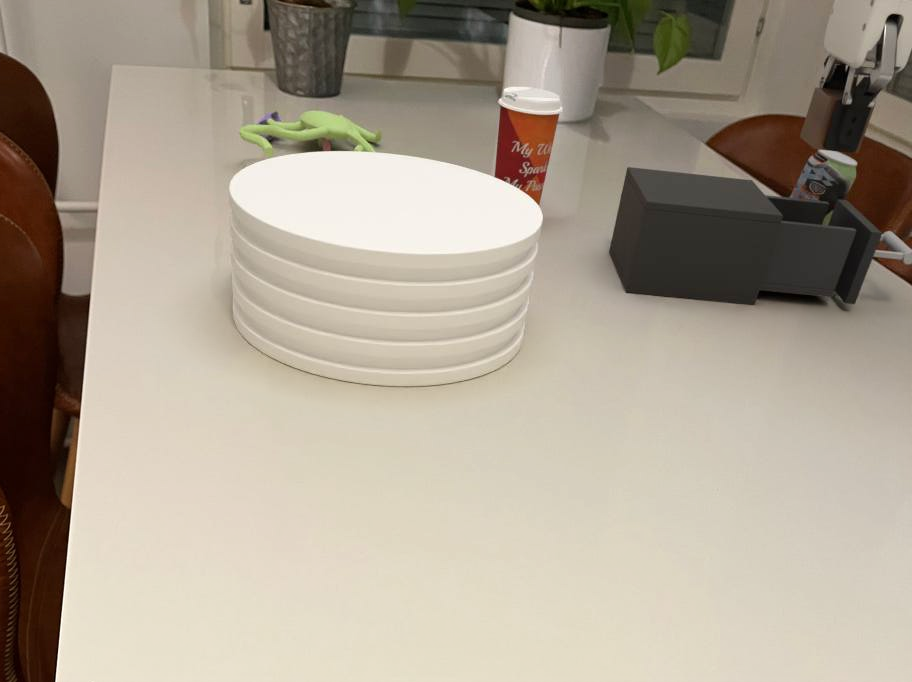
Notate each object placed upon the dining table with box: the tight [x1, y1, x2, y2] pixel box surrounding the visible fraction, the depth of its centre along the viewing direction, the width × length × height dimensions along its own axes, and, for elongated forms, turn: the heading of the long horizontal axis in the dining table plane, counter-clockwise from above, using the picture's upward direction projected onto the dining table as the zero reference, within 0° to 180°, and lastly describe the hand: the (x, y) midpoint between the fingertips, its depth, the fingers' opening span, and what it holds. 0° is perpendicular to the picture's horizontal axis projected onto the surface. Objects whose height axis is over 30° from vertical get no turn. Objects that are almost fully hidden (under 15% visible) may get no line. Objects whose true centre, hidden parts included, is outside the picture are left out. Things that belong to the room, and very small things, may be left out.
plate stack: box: [228, 150, 544, 387], centre depth 92 cm, size 28×28×12 cm
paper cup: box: [494, 86, 564, 207], centre depth 120 cm, size 8×8×14 cm
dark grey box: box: [608, 166, 783, 306], centre depth 110 cm, size 15×13×10 cm
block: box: [799, 86, 877, 154], centre depth 96 cm, size 4×4×4 cm
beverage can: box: [789, 149, 858, 226], centre depth 121 cm, size 6×7×12 cm
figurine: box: [238, 110, 383, 158], centre depth 133 cm, size 18×27×6 cm
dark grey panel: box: [759, 194, 912, 305], centre depth 111 cm, size 19×11×8 cm, turn 91°
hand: (830, 141), depth 97 cm, fingers closed on block, 4 cm apart
